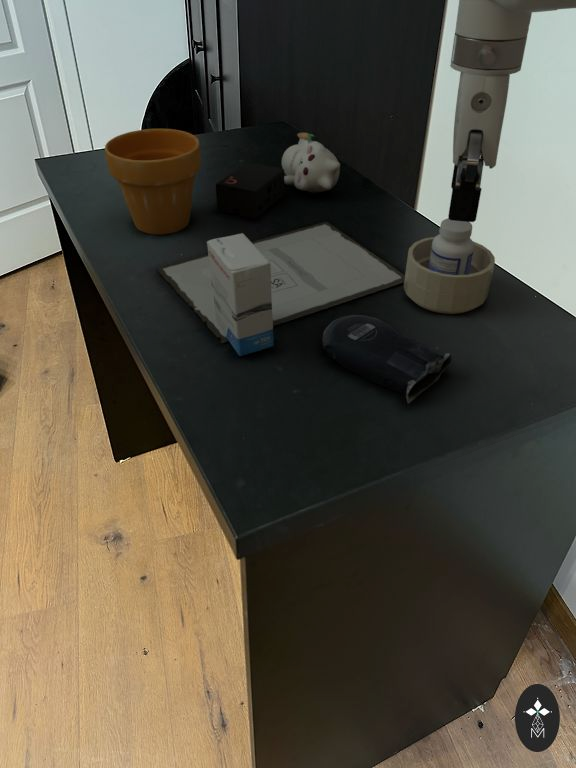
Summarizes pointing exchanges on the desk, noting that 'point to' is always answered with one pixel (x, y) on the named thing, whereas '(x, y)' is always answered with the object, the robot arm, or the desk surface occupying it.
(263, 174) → the electronic device
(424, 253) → the basin
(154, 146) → the flower pot
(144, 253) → the desk surface
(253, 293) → the ink box
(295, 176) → the cat figurine
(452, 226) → the pill bottle
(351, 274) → the picture frame
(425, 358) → the black pouch
